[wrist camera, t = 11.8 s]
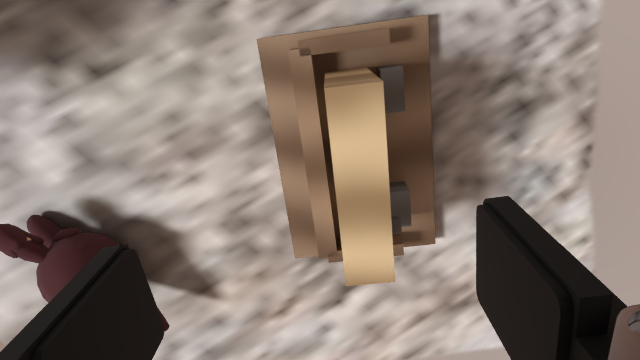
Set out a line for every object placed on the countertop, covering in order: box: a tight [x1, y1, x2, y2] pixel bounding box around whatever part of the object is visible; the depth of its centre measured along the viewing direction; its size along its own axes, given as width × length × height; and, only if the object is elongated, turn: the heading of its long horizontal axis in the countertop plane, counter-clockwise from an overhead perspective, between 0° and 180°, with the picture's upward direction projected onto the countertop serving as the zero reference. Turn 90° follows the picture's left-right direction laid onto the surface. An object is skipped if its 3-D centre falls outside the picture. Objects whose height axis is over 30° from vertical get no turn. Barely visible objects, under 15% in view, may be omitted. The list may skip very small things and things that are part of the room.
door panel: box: [324, 67, 402, 286], centre depth 26 cm, size 12×4×9 cm, turn 7°
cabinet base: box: [257, 15, 435, 263], centre depth 30 cm, size 18×12×3 cm, turn 7°
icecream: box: [0, 215, 169, 331], centre depth 32 cm, size 7×7×15 cm
